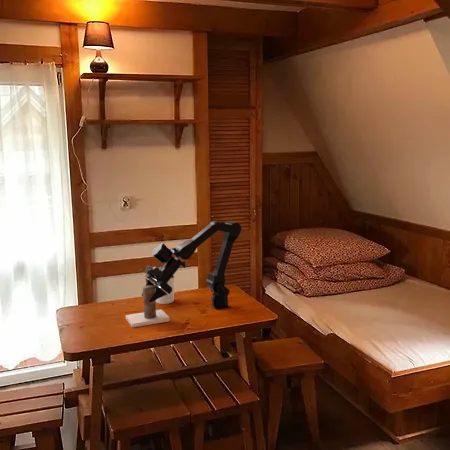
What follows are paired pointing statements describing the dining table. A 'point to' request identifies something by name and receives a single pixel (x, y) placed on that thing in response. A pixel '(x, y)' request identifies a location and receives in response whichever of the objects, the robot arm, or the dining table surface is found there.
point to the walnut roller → (149, 307)
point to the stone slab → (139, 319)
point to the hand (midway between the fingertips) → (145, 298)
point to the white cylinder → (169, 297)
